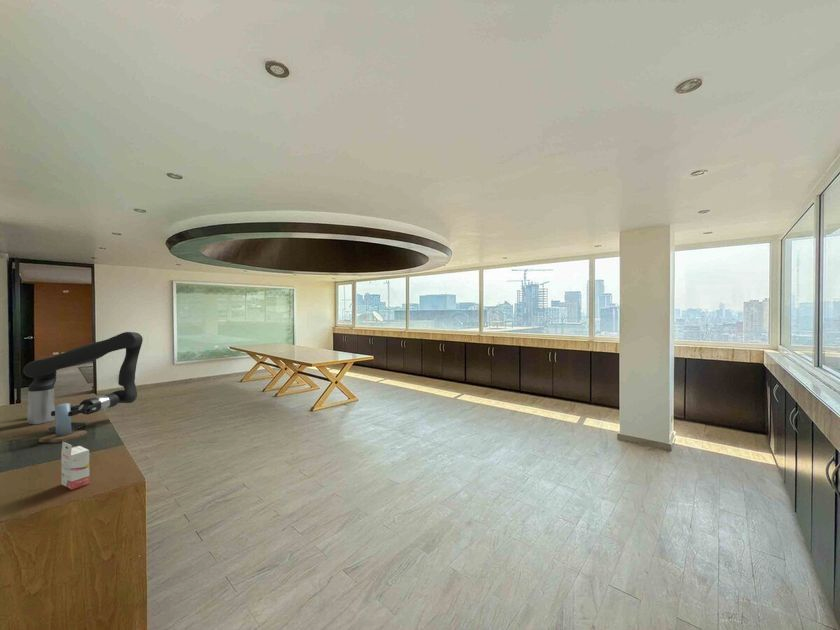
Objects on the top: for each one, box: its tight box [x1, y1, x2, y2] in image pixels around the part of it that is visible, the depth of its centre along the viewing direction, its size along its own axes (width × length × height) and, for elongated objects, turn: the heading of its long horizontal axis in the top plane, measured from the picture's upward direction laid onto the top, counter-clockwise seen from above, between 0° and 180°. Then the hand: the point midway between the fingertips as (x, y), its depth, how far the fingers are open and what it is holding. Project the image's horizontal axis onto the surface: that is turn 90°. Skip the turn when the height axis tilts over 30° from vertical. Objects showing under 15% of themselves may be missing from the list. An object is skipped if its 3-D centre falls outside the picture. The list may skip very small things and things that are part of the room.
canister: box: [54, 402, 72, 436], centre depth 160 cm, size 5×5×14 cm
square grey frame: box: [48, 421, 86, 433], centre depth 172 cm, size 9×9×2 cm
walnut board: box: [38, 429, 88, 443], centre depth 160 cm, size 11×11×2 cm
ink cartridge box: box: [60, 441, 91, 491], centre depth 117 cm, size 9×5×15 cm, turn 62°
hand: (60, 414), depth 158 cm, fingers open, 8 cm apart
